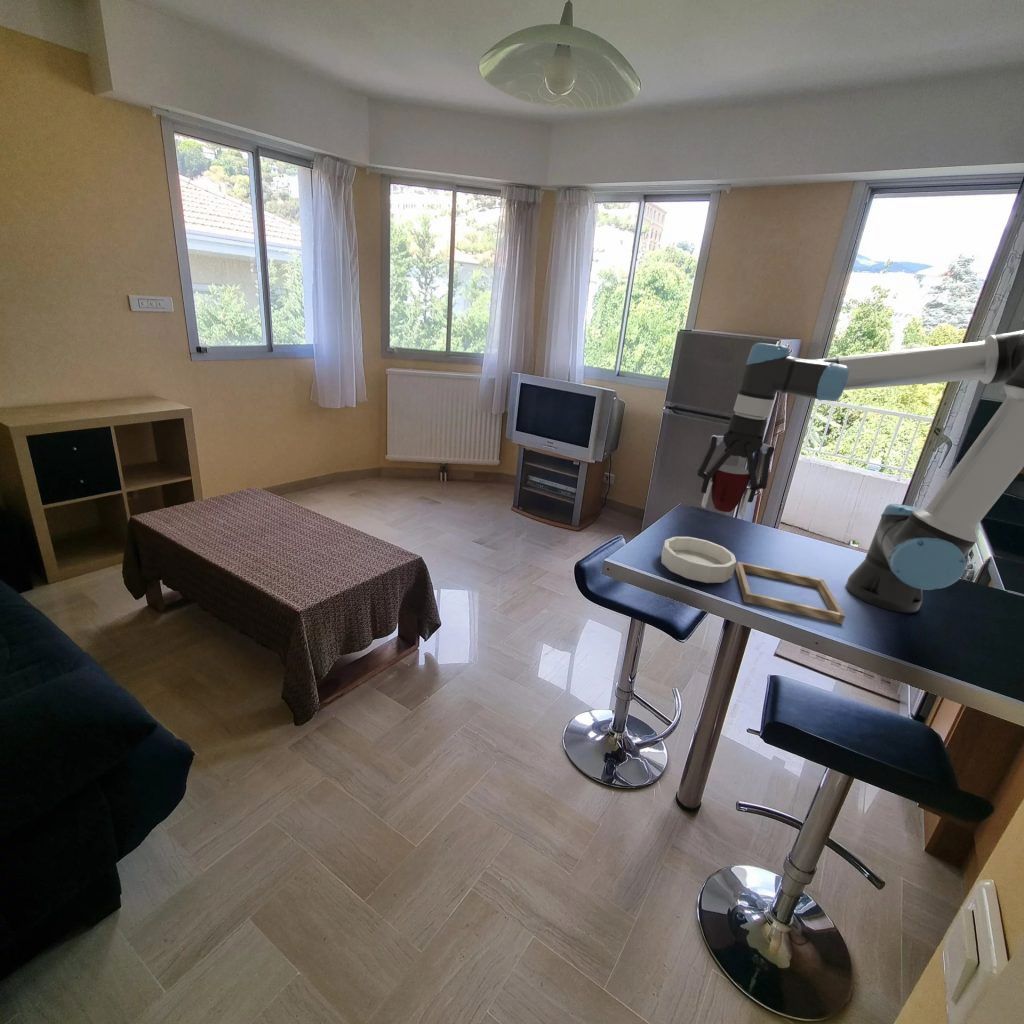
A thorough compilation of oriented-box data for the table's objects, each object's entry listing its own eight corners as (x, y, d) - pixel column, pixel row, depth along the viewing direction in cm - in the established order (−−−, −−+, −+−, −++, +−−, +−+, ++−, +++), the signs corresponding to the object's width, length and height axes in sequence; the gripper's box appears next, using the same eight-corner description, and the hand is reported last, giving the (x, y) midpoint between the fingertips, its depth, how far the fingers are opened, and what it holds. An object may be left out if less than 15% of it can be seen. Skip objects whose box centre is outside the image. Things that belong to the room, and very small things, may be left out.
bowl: (727, 560, 137) (731, 545, 135) (734, 589, 121) (739, 572, 120) (661, 546, 140) (665, 531, 139) (660, 572, 125) (664, 556, 123)
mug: (734, 520, 118) (744, 478, 114) (698, 511, 122) (707, 470, 118) (744, 509, 126) (754, 469, 122) (710, 501, 130) (719, 462, 127)
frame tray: (820, 586, 128) (823, 579, 127) (842, 623, 111) (845, 615, 110) (735, 568, 132) (737, 561, 131) (744, 601, 116) (746, 593, 115)
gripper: (796, 421, 117) (765, 514, 125) (701, 405, 121) (677, 496, 130) (803, 427, 110) (770, 524, 118) (703, 409, 115) (677, 505, 123)
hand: (721, 509), depth 124 cm, fingers closed on mug, 8 cm apart
